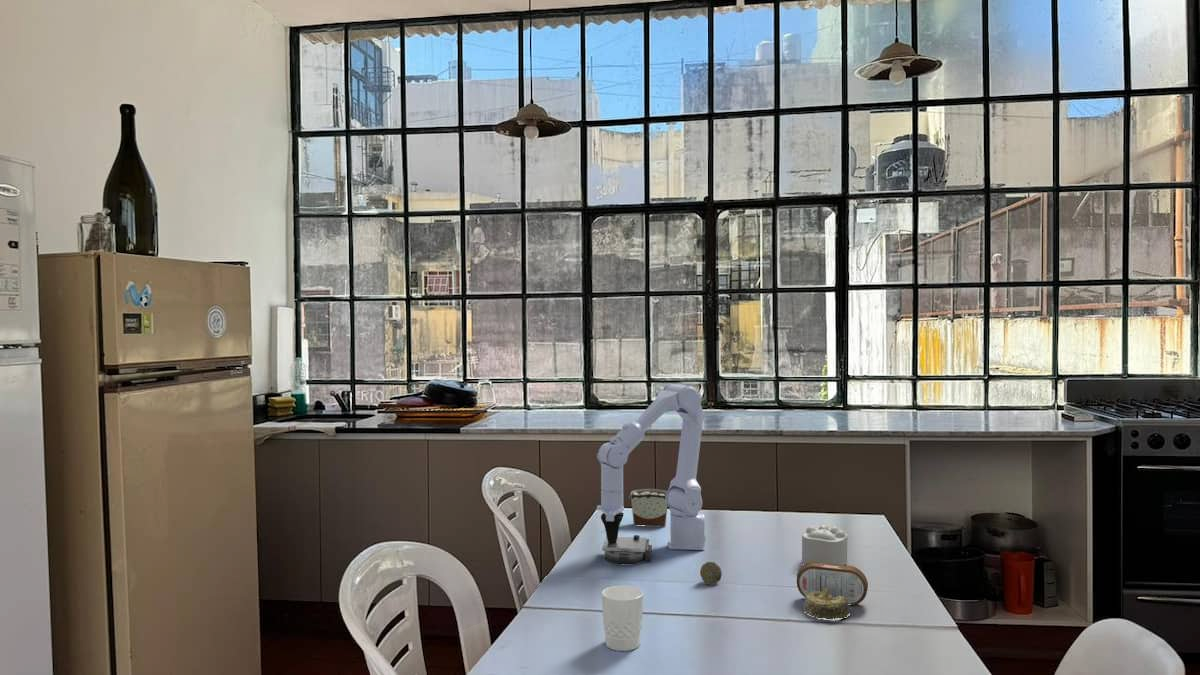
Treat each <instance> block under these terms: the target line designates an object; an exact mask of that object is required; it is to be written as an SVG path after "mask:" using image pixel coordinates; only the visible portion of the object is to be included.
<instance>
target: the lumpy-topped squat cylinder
mask: <svg viewBox="0 0 1200 675" xmlns="http://www.w3.org/2000/svg"><path fill="white" fill-rule="evenodd" d="M809 562H821V563H830V564H839V565H845V564H846V563H847V564H848V534H847V533H846V532H845V531H844V530H841V529H839V527H838V526H831V527H829V526H828V525H826V524H820V526H819V527H815V526H812V525H809V526H808V527H806V529H805V531H804V533H803V534H802V535H801V564H802V563H803V564H806V563H809ZM803 564H802V565H803Z"/></svg>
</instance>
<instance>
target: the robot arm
mask: <svg viewBox="0 0 1200 675" xmlns="http://www.w3.org/2000/svg"><path fill="white" fill-rule="evenodd" d="M656 395H657V396H656V397H655V399H654V400H653V401H652V402H651V403H650V405H649V406H648V407H647V408H646V409H644V411H643V413H642V414H641V415H640V416H639V417H638V418H637V420H636V421H633V422H631V421H630V422H627V423H624V424H623V425H622V426H621V428H622V429H620V431H618V432H617V433H616V435H615V436H613V437H611V438H610V439H609V442H606V443H603V444H602V445H601V446H600V447H599V449H598V452H597V453H596V458H597V460H598V462H599V463H600V471H601V472H600V475H601V477H600V483H601V485H600V489H601V490H600V492H601V493H600V494H601V495H600V496H601V500H600V505H597V506H596V510H598V511H601V512H602V514H601V515H600V519H601V522H602V523H603V526H604V529H605V534H606V536H607V540H608V542H609V543H616V541H617V537H619V530H620V526H621V523H622V520H623V517H624V510H625V507H624V465H626V464H627V462H628V459H629V455H630V453H631V452H632V451H633V450H634V449H635V448H637V446H638V445H639V444H640V443H641V442H642V441H643V440H644V439H645V432H646V430H647V429H649V428H650V427H651V426H652V425H653V424H655V422H657V420H658V419H660V418H661V417H662V416H663V415H664V414H665V413H667V412H674V411H675V412H676V413H677V414H678V415H679V417H680V418H681V419H682V425H681V432H680V433H681V434H680V441H679V448H678V457H677V466H676V474H675V477H674V478H672V479H671V481H669V482H670V483H669V487H668V490H667V493H666V497H665V499H666V503H667V505H668V506H667V507H668V508H669V513H670V516H669V517H670V518H669V519H670V527H669V528H670V533H669V534H670V537H669V538H670V539H669V540H668V549H669V550H686V551H688V550H689V551H690V550H691V551H704V550H705V542H706V534H705V514H704V513H700V511H701V510H702V507H703V498H702V488H701V485H700V484H699V482H698V481H697V473H698V468H699V466H698V465H699V458H700V448H701V442H702V441H701V440H702V435H703V433H702V432H703V425H704V416H705V415H704V411H703V407H702V403H701V401H702V400H701V399H702V394H701V393H700V392H699V391H698V390H697V388H695V387H694V386H692V385H682V384H676V383H668V384H666V385H664V387H663V389H661V390H660V391H659V392H658V394H656Z"/></svg>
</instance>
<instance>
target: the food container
mask: <svg viewBox="0 0 1200 675" xmlns="http://www.w3.org/2000/svg"><path fill="white" fill-rule="evenodd" d="M667 491H668V490H667ZM667 491H666V490H664V489H657V488H641V489H634V490H632V491H631V492H630V494H629V497H628V500H630V501H631V503H630V504H631V512H632V519H633V520H632V521H633V526H634V525H645V526H644V527H652V526H665V527H666V524H667V523H666V522H667V515H668V514H667V513H668V507H669V506H668V505H667V503H666V499H665V497H666V493H667Z"/></svg>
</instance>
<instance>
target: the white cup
mask: <svg viewBox="0 0 1200 675" xmlns="http://www.w3.org/2000/svg"><path fill="white" fill-rule="evenodd" d="M601 596H602V597H601V598H602V600H601V601H602V618H603V622H602V623H603V631H604V643H605V646H606V647H607V648H608V649H611V650H612V651H617V652H628V651H633V650H635V649H638V648H639V647H640V645H641V636H642V635H641V632H642V631H641V630H642V628H643V627H642V624H643V622H642V621H643V611H644V610H643V605H644V603H643V602H644V591H643V590H642V589H640V588H638V587H635V586H632V585H614V586H610V587H606V588H604V589H603V590H602V591H601Z"/></svg>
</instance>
